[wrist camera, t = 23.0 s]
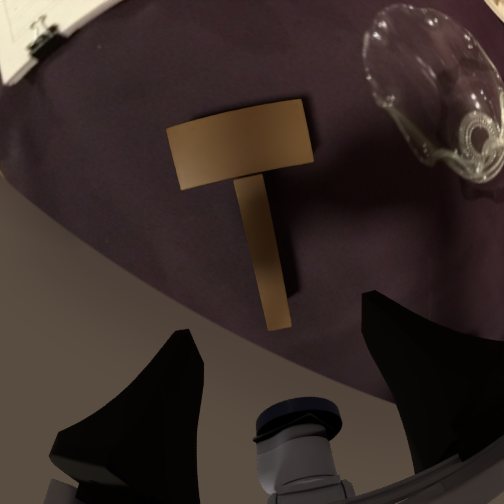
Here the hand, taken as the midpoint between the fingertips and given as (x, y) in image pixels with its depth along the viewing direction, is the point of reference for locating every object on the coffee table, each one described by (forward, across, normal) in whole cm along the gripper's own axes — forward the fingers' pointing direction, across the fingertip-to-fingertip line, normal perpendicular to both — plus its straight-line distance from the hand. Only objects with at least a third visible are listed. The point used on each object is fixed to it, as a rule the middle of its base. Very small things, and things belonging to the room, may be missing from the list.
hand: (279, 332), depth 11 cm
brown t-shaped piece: (+9, 0, -2) cm, 10 cm away
